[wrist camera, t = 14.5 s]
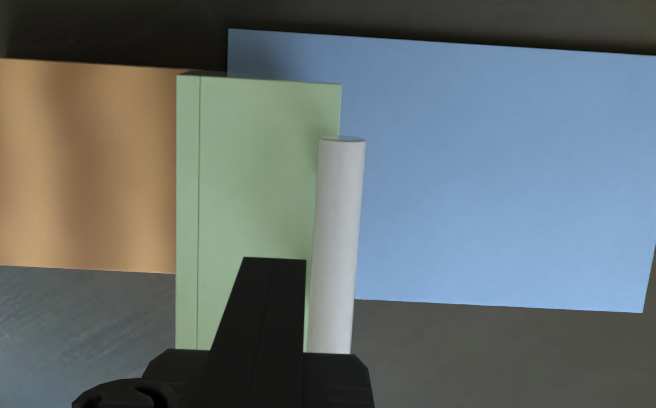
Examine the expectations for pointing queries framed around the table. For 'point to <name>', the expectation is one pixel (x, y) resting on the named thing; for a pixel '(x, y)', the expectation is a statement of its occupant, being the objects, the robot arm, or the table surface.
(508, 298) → the mat
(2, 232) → the tan rectangular panel
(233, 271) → the green open box
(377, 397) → the table surface
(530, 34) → the table surface
